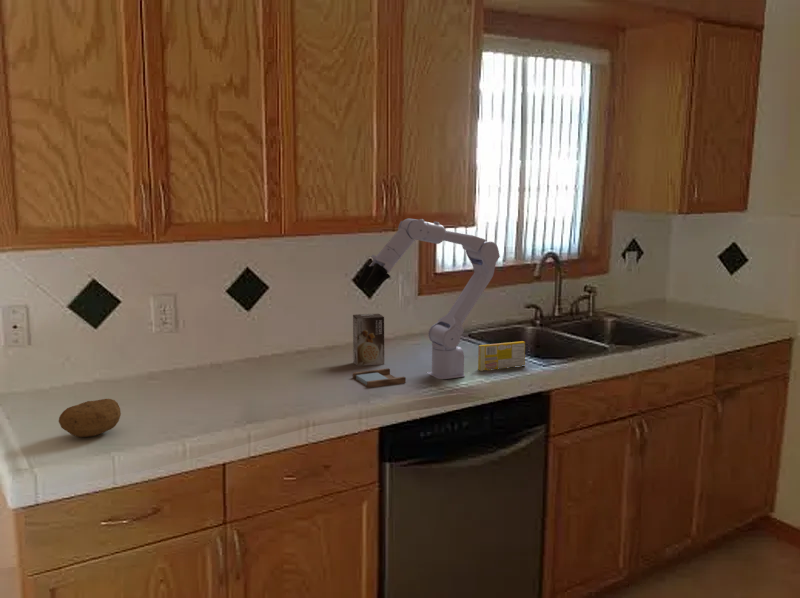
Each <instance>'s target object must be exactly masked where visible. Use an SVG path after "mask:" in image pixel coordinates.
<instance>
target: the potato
mask: <svg viewBox="0 0 800 598" xmlns="http://www.w3.org/2000/svg"><path fill="white" fill-rule="evenodd" d="M121 414H122V413H121V408H120V405H119V403H118V401H116V400H115V399H112V398H102V399H97V400H87V401H83V402H81V403H79V404H76V405H73V406H69V407H67V408H66V409H65V410H63V411H62V413H61V414H60V415H59V417H58V423H59V425H60V427H61V429H62V430H64V431H66V432H68V433H69V434H71V435H72V436H74V437H76V438H91V437H95V436H99V435H101V434H103V433H106V432H107V431H109V430H112V429H114V428H115V427H116V426H117V424H118V423H119V421H120V419H121Z"/></svg>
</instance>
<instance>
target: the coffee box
mask: <svg viewBox="0 0 800 598" xmlns="http://www.w3.org/2000/svg"><path fill="white" fill-rule="evenodd" d="M352 338H353V339H352V340H353V341H352V344H353V345H352V346H353V347H352V352H353V353H352V355H353V356H352V357H353V358H352V360H353V362H352V363H353V364H354V365H355V366H358V367H359V366H377V365H385V316H384V315H382V314H380V313H368V314H367V313H363V314H361V313H360V314H353V315H352Z"/></svg>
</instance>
